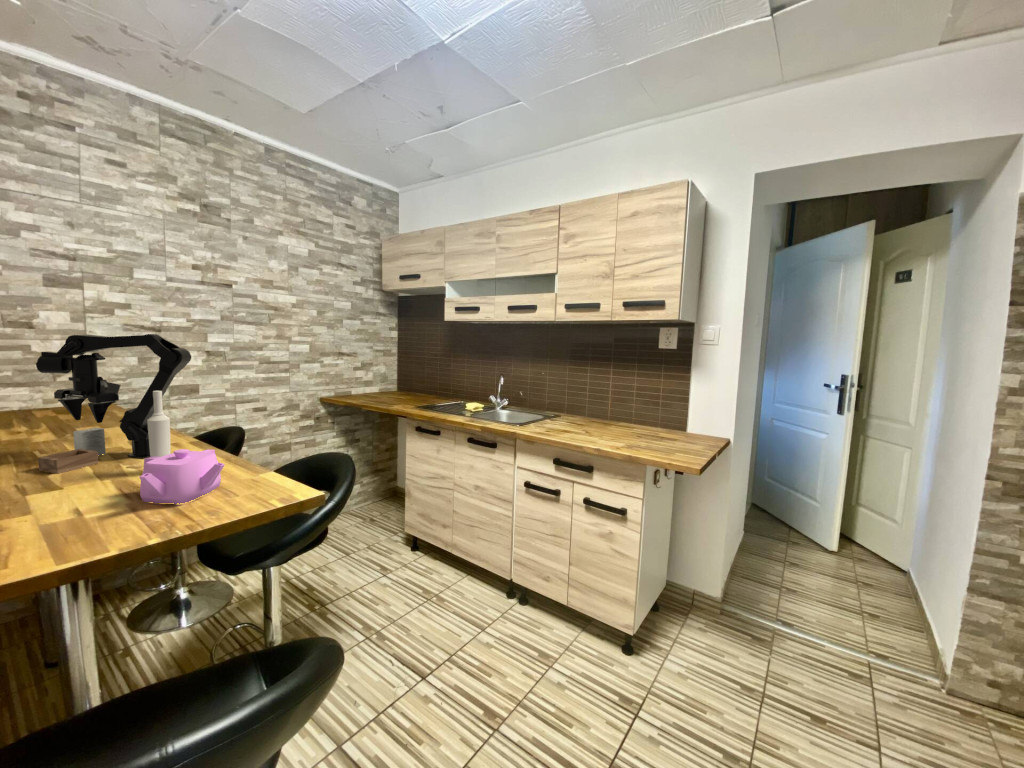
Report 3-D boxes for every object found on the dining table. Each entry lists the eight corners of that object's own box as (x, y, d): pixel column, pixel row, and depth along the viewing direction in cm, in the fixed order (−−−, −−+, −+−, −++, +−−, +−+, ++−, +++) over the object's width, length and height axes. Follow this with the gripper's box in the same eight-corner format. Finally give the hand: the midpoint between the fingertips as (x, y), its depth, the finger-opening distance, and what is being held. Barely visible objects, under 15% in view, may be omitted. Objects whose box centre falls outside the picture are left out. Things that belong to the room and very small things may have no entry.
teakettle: (216, 479, 120) (214, 438, 119) (227, 497, 108) (225, 453, 107) (138, 492, 108) (136, 447, 107) (141, 514, 96) (138, 464, 95)
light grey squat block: (105, 454, 135) (104, 428, 134) (83, 459, 129) (81, 432, 128) (97, 453, 136) (95, 427, 135) (75, 458, 130) (73, 431, 129)
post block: (98, 463, 127) (97, 451, 126) (57, 473, 117) (56, 460, 117) (80, 461, 128) (79, 448, 128) (39, 470, 119) (38, 457, 118)
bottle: (145, 472, 121) (141, 391, 118) (165, 468, 126) (161, 389, 123) (156, 475, 120) (152, 393, 117) (176, 470, 125) (172, 391, 122)
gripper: (135, 373, 135) (138, 419, 137) (93, 370, 139) (96, 414, 141) (95, 376, 124) (99, 426, 126) (50, 372, 128) (55, 420, 130)
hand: (88, 421), depth 131 cm, fingers open, 9 cm apart
